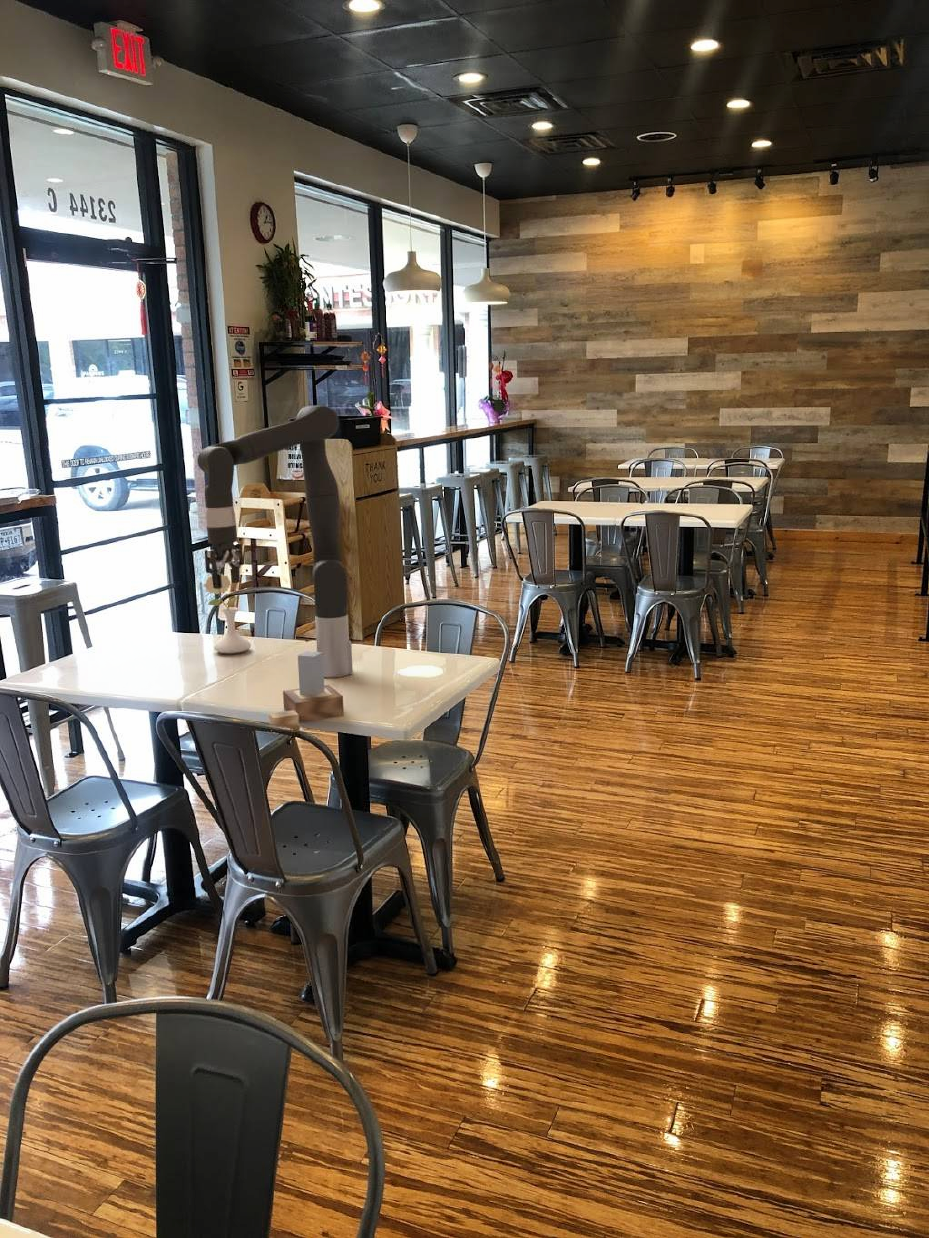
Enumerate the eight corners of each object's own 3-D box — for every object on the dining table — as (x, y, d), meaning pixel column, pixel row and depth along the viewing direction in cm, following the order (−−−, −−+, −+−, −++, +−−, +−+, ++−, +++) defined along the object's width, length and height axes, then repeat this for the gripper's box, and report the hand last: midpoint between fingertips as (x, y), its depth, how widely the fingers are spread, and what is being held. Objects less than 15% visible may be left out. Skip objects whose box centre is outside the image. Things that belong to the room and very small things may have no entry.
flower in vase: (253, 647, 335) (248, 569, 330) (248, 655, 324) (243, 575, 319) (212, 648, 335) (206, 571, 329) (205, 657, 323) (199, 577, 318)
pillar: (308, 689, 265) (306, 651, 263) (324, 691, 264) (322, 652, 261) (299, 694, 261) (297, 655, 259) (315, 695, 259) (313, 656, 257)
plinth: (329, 703, 271) (328, 683, 270) (343, 715, 260) (342, 695, 259) (284, 709, 266) (282, 690, 265) (296, 722, 256) (295, 702, 255)
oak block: (294, 725, 253) (293, 710, 253) (299, 730, 250) (298, 714, 249) (270, 729, 251) (269, 713, 250) (274, 734, 247) (273, 718, 247)
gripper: (218, 527, 265) (224, 590, 269) (248, 520, 278) (253, 581, 282) (193, 527, 268) (199, 590, 271) (224, 520, 281) (229, 580, 284)
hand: (227, 585), depth 276 cm, fingers open, 8 cm apart
